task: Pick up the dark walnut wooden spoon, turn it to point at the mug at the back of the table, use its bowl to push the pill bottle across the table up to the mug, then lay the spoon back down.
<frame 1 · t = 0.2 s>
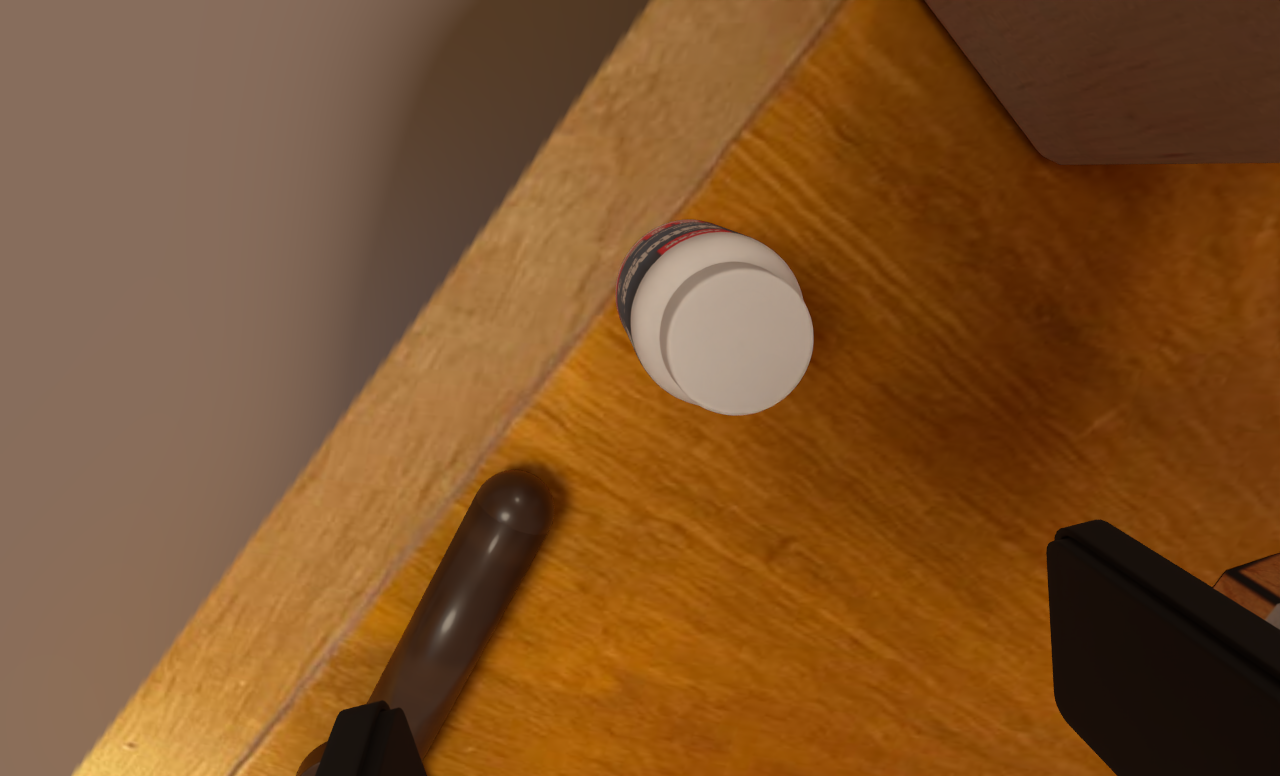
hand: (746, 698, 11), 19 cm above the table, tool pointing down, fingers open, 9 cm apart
mug 2: (1257, 715, 38), on the table
pill bottle: (683, 290, 29), on the table
spoon: (427, 657, 31), on the table
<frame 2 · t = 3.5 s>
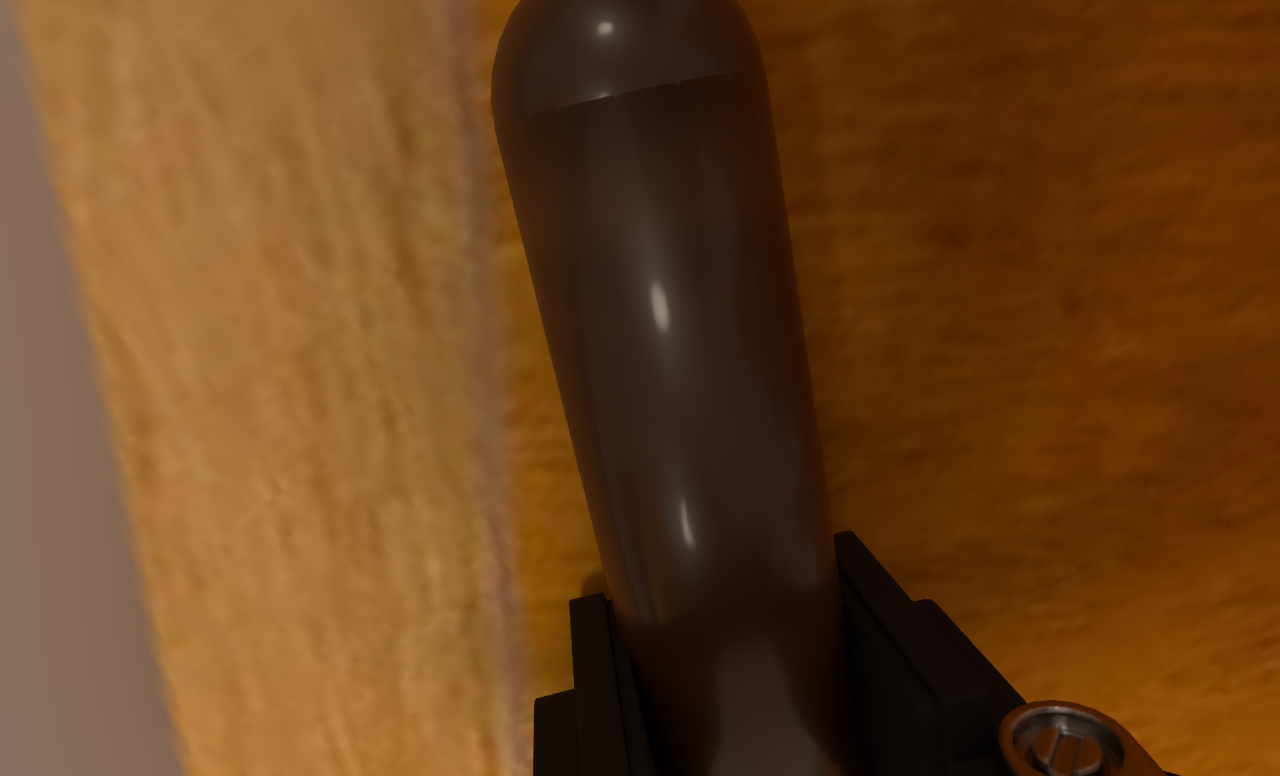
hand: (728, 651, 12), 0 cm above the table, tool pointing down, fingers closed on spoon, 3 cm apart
spoon: (722, 636, 12), on the table, touching gripper
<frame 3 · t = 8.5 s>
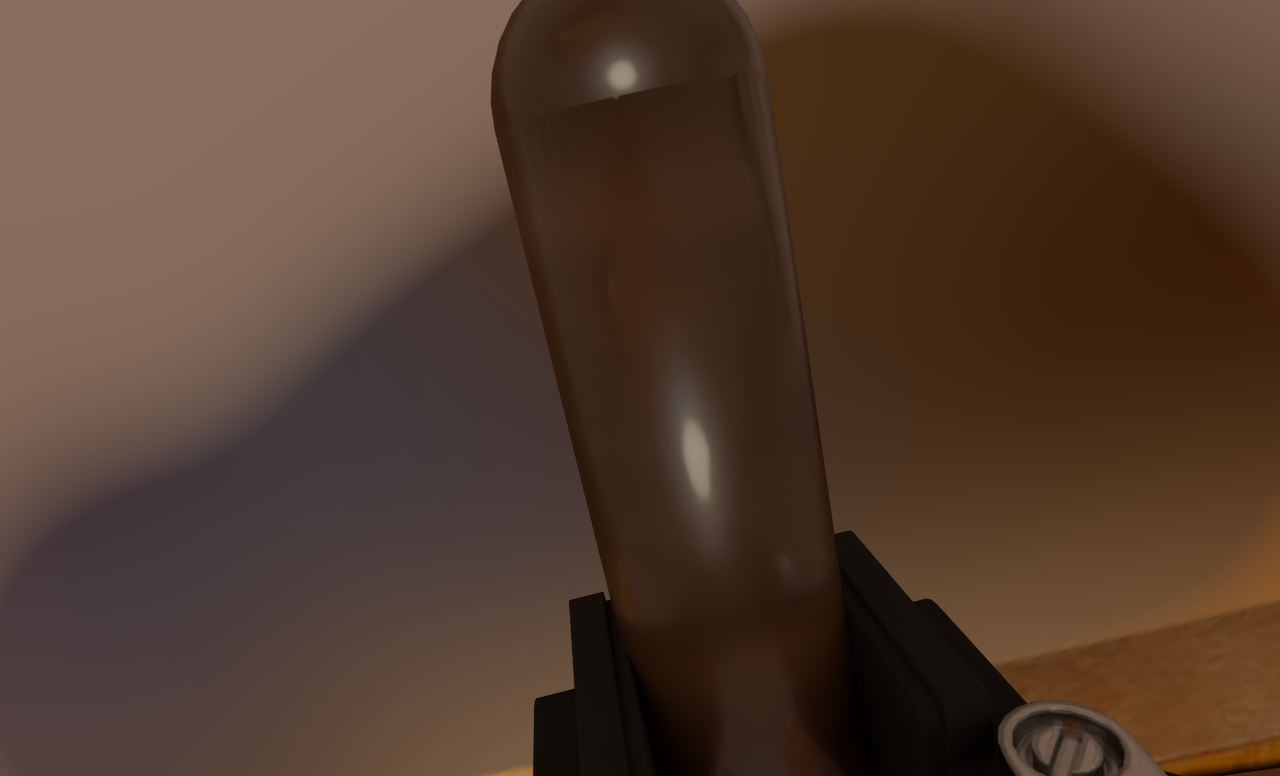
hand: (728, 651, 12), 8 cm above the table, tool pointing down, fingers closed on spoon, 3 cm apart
spoon: (723, 639, 12), point 8 cm above the table, touching gripper
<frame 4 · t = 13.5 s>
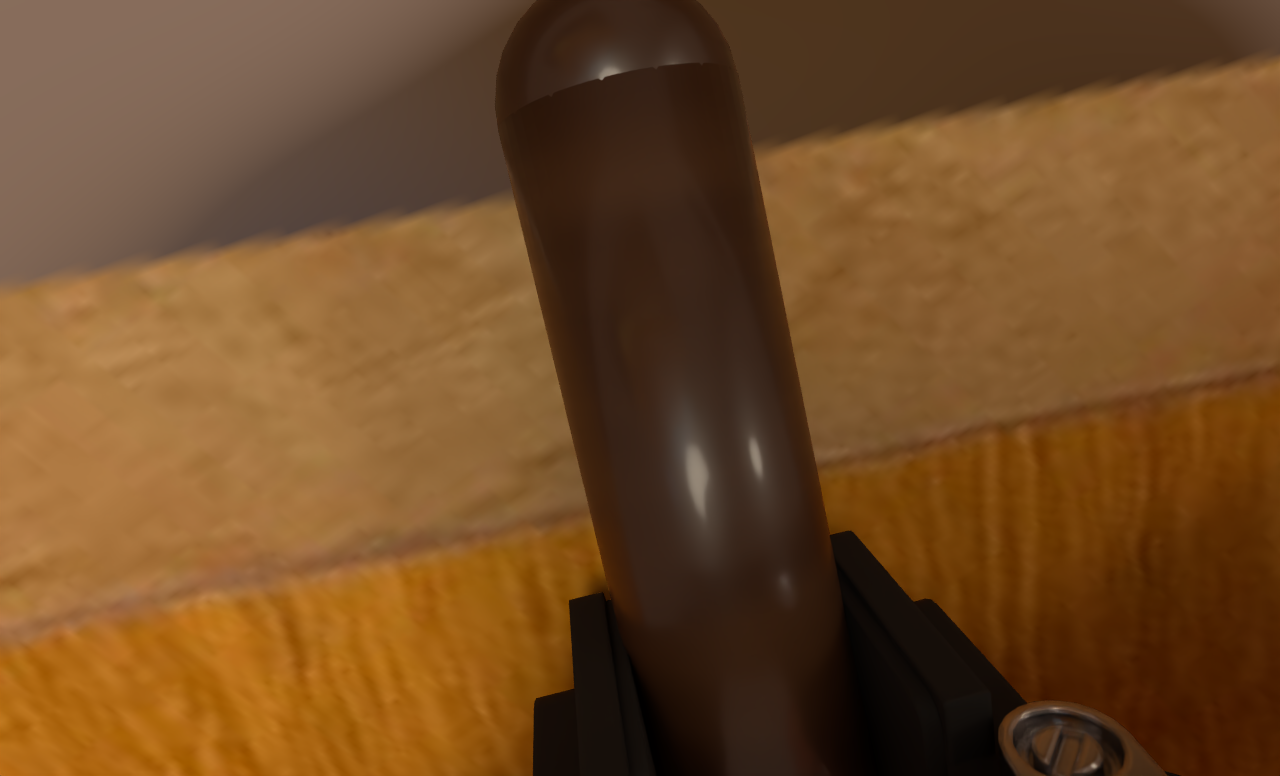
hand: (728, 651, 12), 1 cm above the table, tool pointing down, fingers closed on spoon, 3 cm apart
spoon: (725, 650, 12), point 1 cm above the table, tilted 9°, touching gripper, pill bottle
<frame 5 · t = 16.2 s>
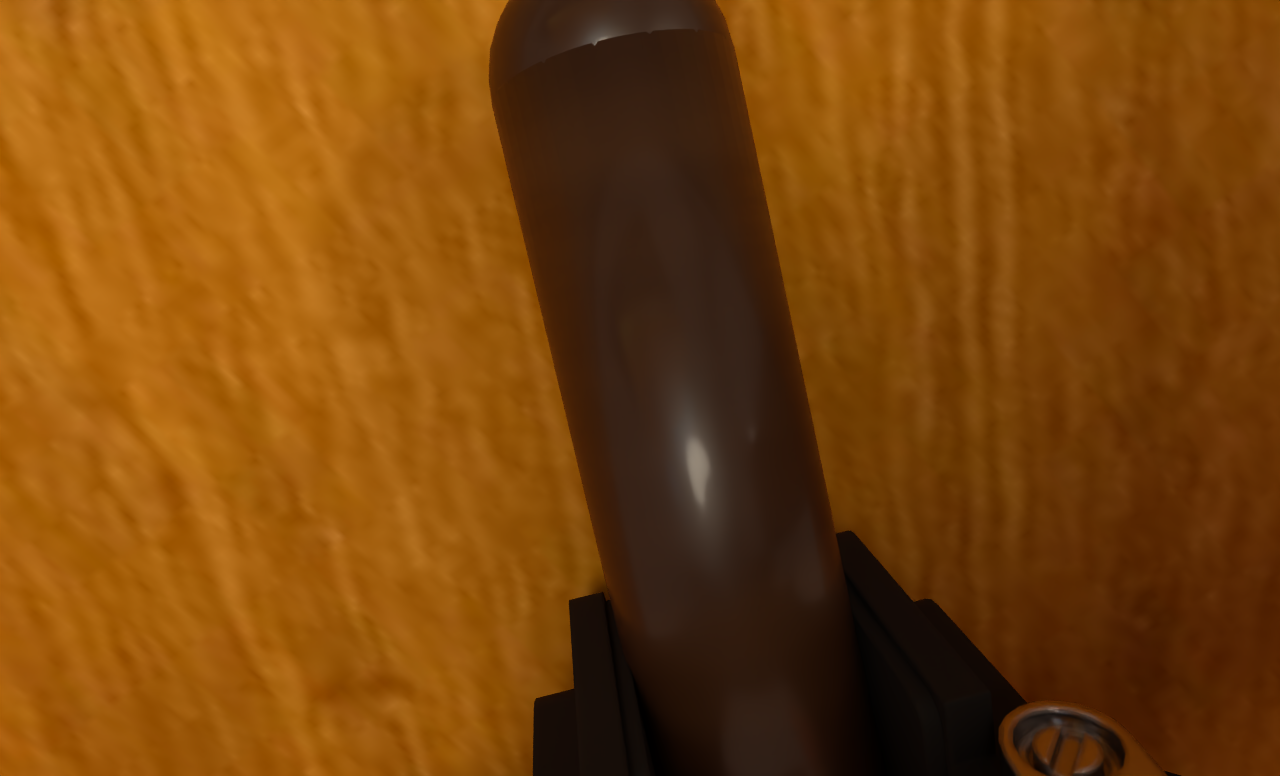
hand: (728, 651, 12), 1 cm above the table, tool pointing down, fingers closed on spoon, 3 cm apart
spoon: (727, 647, 12), point 2 cm above the table, tilted 11°, touching gripper, pill bottle
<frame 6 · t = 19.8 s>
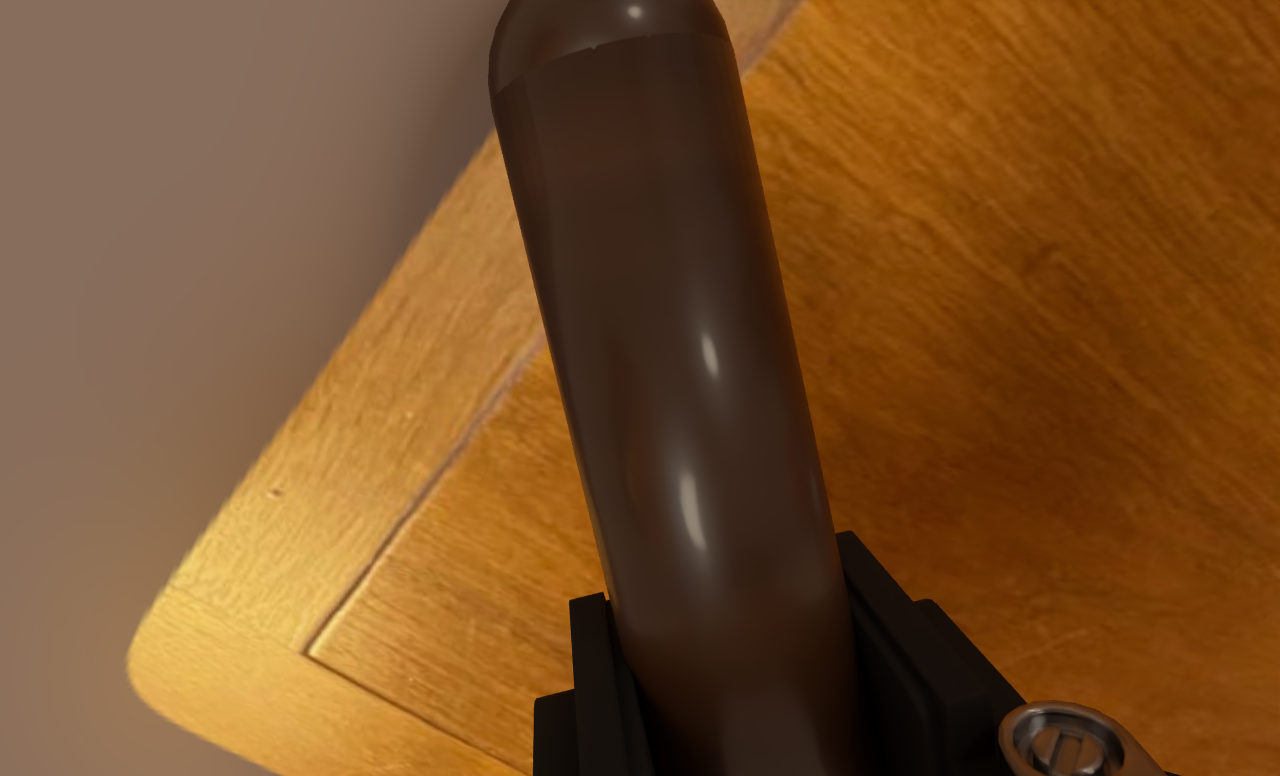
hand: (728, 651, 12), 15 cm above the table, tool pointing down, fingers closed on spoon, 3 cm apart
spoon: (727, 649, 12), point 15 cm above the table, tilted 11°, touching gripper
when the fingers open (1 cm above the table, at t = 23.0 s): spoon drops 2 cm, on the table.
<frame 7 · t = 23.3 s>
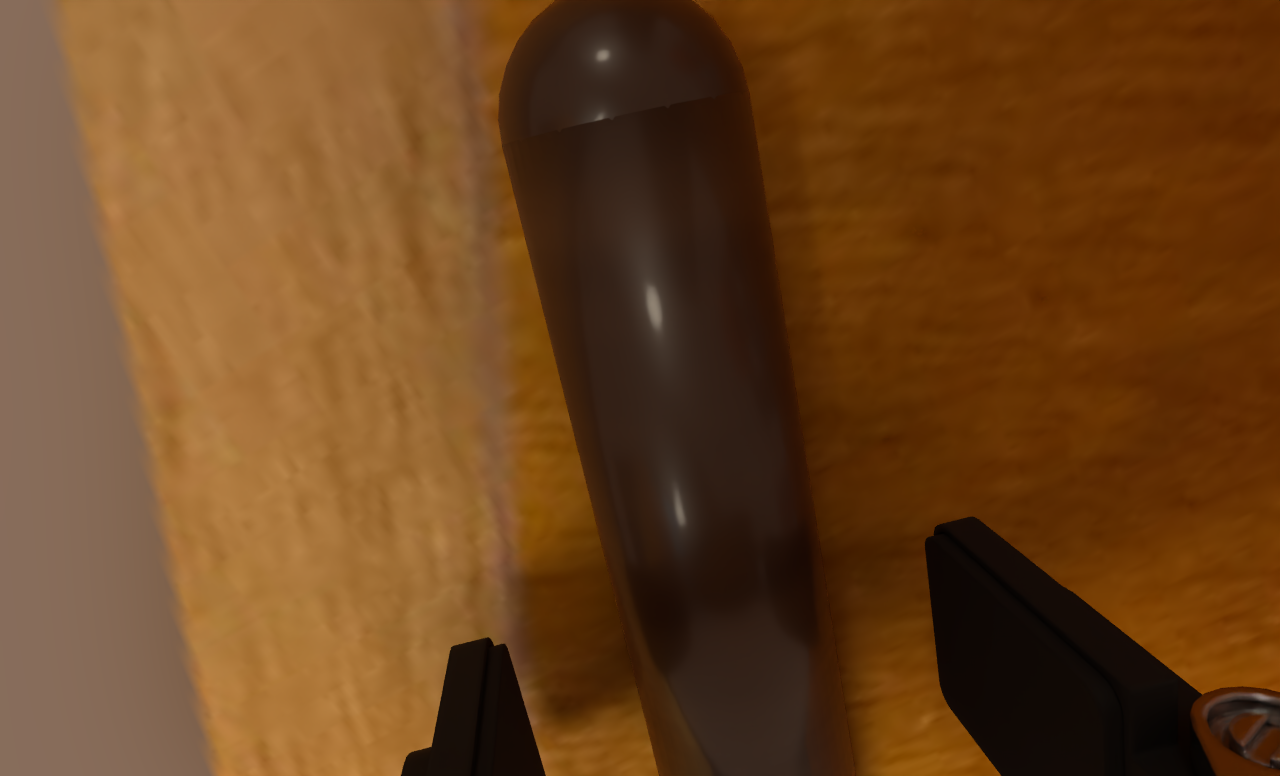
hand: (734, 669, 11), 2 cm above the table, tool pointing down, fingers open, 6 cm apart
spoon: (715, 616, 13), on the table
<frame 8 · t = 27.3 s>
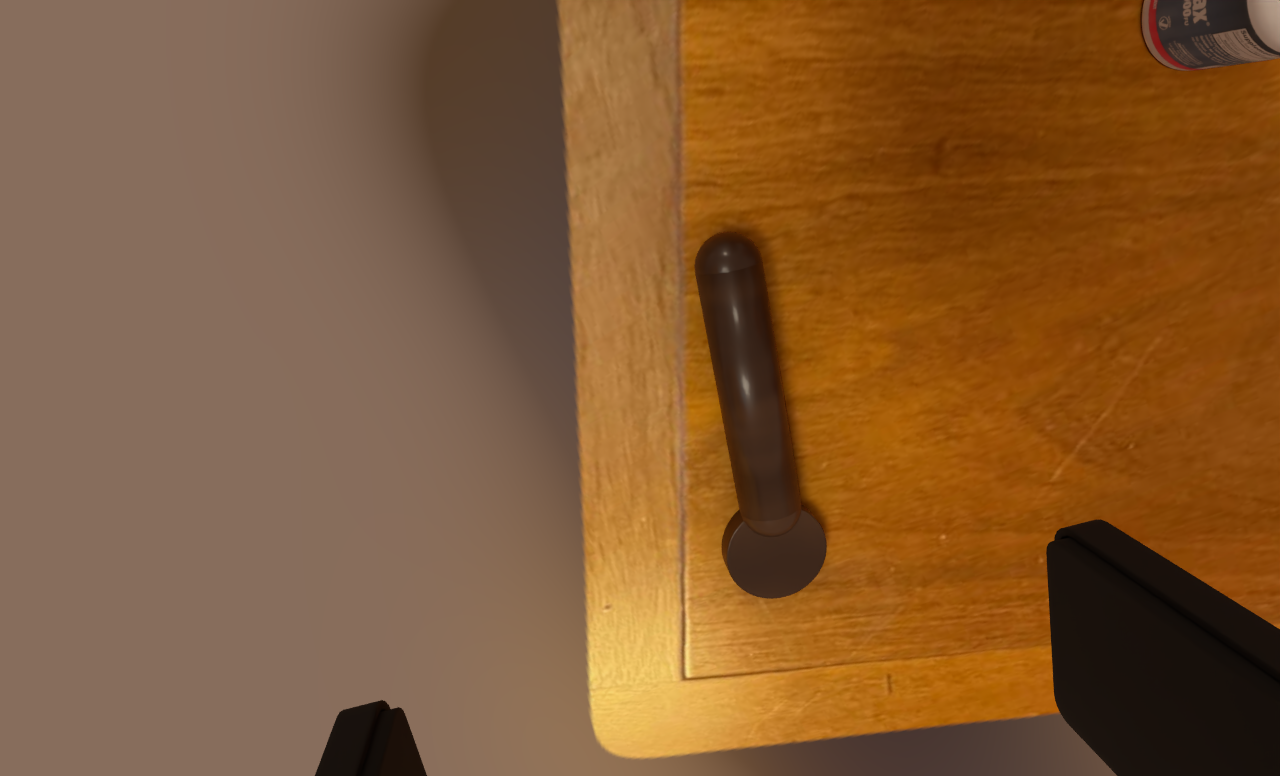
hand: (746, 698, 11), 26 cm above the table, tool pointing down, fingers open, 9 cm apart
pill bottle: (1187, 11, 35), on the table
spoon: (749, 421, 38), on the table
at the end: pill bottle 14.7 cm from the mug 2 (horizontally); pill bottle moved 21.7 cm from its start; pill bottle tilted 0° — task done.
